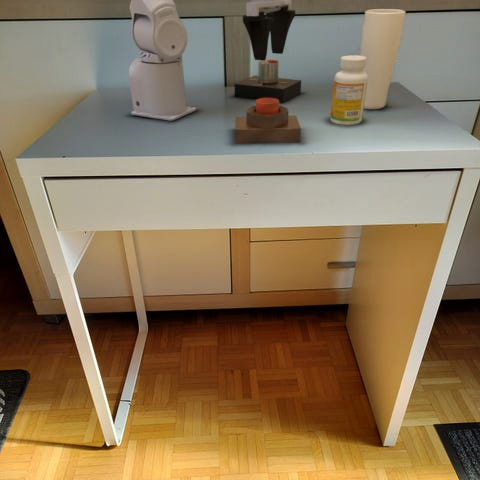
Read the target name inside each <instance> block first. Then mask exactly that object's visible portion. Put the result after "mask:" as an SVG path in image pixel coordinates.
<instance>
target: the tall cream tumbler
mask: <svg viewBox="0 0 480 480" xmlns="http://www.w3.org/2000/svg"><path fill="white" fill-rule="evenodd" d="M405 18H406V10H403V9H395V8H394V9H393V8H374V9H367V10H365V12H364V15H363V23H362V29H361V36H360V37H361V38H360V48H359V49H360V50H359V56H364V57H366V66H365V68H363V71H364V72H365V73H367V75H368V81H367V88H366V95H365V102H364V109H365V110H380V109H383V108H384V107H385V106H386V104H387V99H388V93H389V89H390V86H391V81H392V77H393V74H394V68H395V66H396V61H397V58H398V53H399V50H400V45H401V42H402V37H403V32H404V26H405V20H406V19H405ZM364 109H363V110H364Z"/></svg>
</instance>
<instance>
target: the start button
mask: <svg viewBox="0 0 480 480" xmlns="http://www.w3.org/2000/svg"><path fill="white" fill-rule="evenodd" d="M279 105H280V103H279V100H278V99H275V98H260V99H257V100H255V106H256V112H257V113H262V114H272V113H278V112H279Z"/></svg>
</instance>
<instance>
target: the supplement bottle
mask: <svg viewBox="0 0 480 480" xmlns="http://www.w3.org/2000/svg"><path fill="white" fill-rule="evenodd" d="M365 66H366V57H364V56H360V55H357V54H355V55H354V54H352V55H350V54H349V55H344V56H341V57H340V62H339V67H340V68H341V69H340V71H337V72H336V73H335V75H334V79H333V89H332V97H331V98H332V99H331V110H330V121H331V122H332V123H333V124H337V125H341V126H342V125H343V126H352V125H354V126H355V125H358V124H360V123H361V122H362V121H363V116H364V102H365V95H366V88H367V81H368V75H367V73H365V72H364V71H363V68H365Z"/></svg>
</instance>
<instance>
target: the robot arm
mask: <svg viewBox="0 0 480 480" xmlns="http://www.w3.org/2000/svg"><path fill="white" fill-rule="evenodd" d="M291 8H292V0H251V1H248V2H246V14H244V15H242V23H243V25H244V27H245V29H246V31H247V34H248V37H249V40H250V45H251V50H252V54H253V58H254V59H253V60H254V61H261V60H263V61H264V60H267V55H268V49H269V48H268V45H269V38H270V47H271V48H270V49H271V53H272V54H277V55H282V54H283V53H284V51H285V46H286V42H287V37H288V34H289V31H290V27H291V25H292V23H293V21H294V19H295V16H296V10H295V9H291ZM129 12H130V15H131V27H130V30H131V31H130V33H131V38H132V41H133V43H134V45H135V46H136V48H137V49H139V50H140V52H139V57H136V58H135V59H134V60H132V61H131V62H130V65H129V69H128V82H129V89H130V94H131V99H132V100H131V101H132V107H133V110H132V111H130V114H131V115H132V116H138V117H144V118H150V119H157V120H163V121H169V122H172V121H176V120H177V119H180V118H182V117H184V116H187V115H189V114H191V113H193V112H196V111H197V107H194V106H187V99H186V87H185V76H184V75H185V74H184V73H185V72H184V63H183V62H184V61H183V54H184V52H185V51H186V49H187V45H188V32H187V29H186V26H185V24H184V23H183V21H182V20H181V18H180V16H179V14H178V11H177V7H176V3H175V2H174V0H130V3H129Z"/></svg>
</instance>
